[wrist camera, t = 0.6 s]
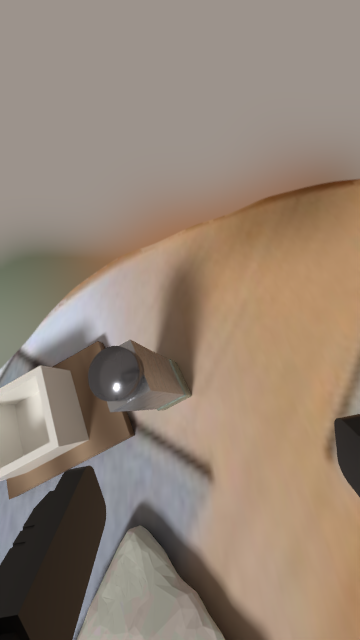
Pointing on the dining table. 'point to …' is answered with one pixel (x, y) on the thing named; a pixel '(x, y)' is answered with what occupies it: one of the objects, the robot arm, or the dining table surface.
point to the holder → (38, 420)
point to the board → (98, 421)
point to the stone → (146, 598)
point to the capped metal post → (136, 379)
